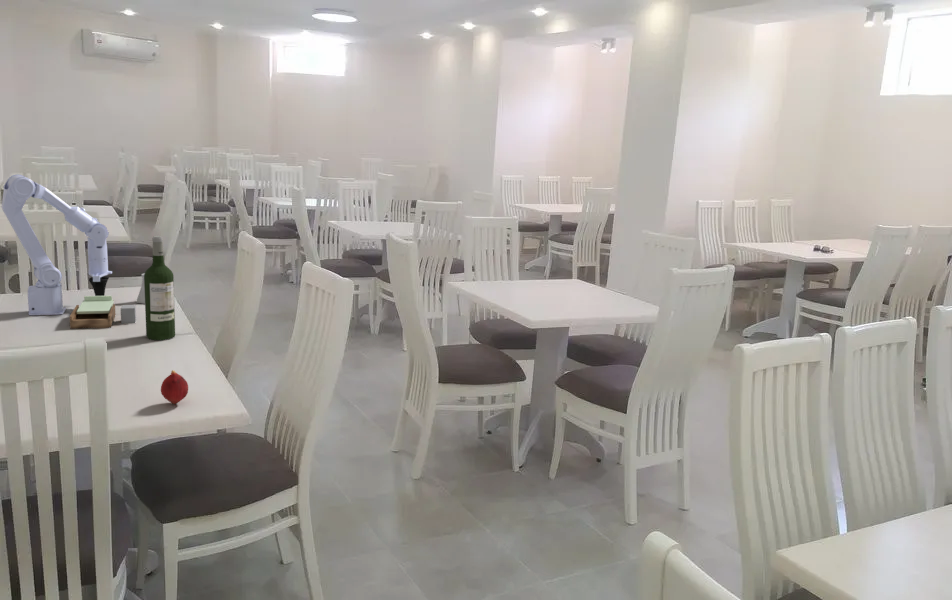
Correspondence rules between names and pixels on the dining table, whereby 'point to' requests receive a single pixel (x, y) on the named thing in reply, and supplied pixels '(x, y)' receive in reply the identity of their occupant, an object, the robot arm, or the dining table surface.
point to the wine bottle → (159, 296)
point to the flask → (141, 292)
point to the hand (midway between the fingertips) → (100, 298)
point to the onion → (174, 388)
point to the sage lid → (95, 305)
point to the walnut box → (91, 319)
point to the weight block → (128, 314)
